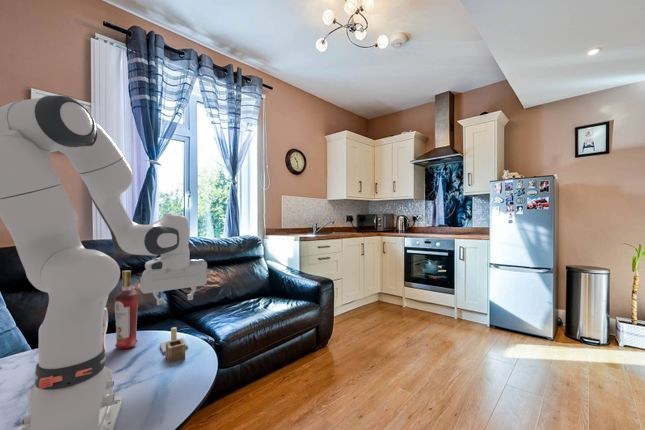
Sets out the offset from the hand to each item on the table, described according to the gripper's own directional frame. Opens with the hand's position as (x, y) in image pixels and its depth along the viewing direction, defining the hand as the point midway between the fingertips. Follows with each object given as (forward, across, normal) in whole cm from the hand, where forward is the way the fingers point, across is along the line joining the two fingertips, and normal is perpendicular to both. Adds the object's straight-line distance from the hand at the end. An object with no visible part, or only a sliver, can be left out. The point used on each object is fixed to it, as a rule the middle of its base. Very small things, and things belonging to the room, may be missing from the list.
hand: (175, 301), depth 98 cm
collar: (+19, 0, 0) cm, 19 cm away
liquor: (+19, +13, -20) cm, 31 cm away
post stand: (+19, -1, -9) cm, 21 cm away
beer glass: (+19, +22, -22) cm, 37 cm away
